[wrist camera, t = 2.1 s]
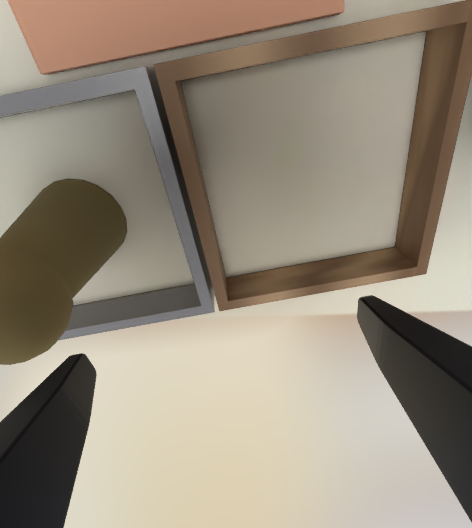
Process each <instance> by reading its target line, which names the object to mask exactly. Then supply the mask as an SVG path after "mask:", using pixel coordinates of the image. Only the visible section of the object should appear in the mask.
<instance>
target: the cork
mask: <svg viewBox="0 0 472 528" xmlns="http://www.w3.org/2000/svg"><path fill="white" fill-rule="evenodd" d="M126 233H127V224H126V218H125V215H124V213H123V211H122V208H121V206H120V205H119V204H118V203H117V201H116V200H115V199H114V198H113V197H112V195H110V194H109V193H108V192H106V191H105V190H103V189H102V188H101V187H99V186H97V185H95V184H92V183H89V182H87V181H84V180H76V179H65V180H60V181H56V182H53V183H52V184H50V185H49V186H47V187H46V188H44V189H43V190H42V191H41V192H40V194H39V195H38V196H37V197H36V198H35V199H34V200H33V201H32V203H31V204H30V205H29V206H28V207H27V208H26V209H25V211H24V212H23V213H22V214H21V215H20V216H19V217H18V218H17V220H16V221H15V222H14V223H13V224H12V225H11V226H10V228H9V229H8V230H7V231H6V232H5V233H4V234H3V235H2V237H1V238H0V364H6V365H7V364H9V365H11V364H16V363H21V362H25V361H28V360H30V359H32V358H34V357H36V356H38V355H40V354H42V353H44V352H46V351H48V350H49V349H50V348H51V347H52V346H53V345H54V344H55V343H56V342H57V341H58V339H59V338H60V337H61V336H62V335H63V334H64V332H65V330H66V328H67V326H68V325H69V321H70V317H71V312H72V307H73V300H72V298H73V297H74V296H75V295H76V294H77V293H78V292H79V291H80V290H81V289H82V287H83V286H84V285H85V284H86V283H87V282H88V281H89V280H90V279H91V278H92V277H93V275H94V274H95V273H96V272H97V271H98V270H99V269H100V268H101V267H102V266H103V265H104V264H105V262H106V261H107V260H108V259H109V258H110V257H111V256H112V255H113V254H114V253H115V252H116V250H117V249H118V248H119V247H120V246H121V244H122V243H123V242H124V239H125V236H126Z"/></svg>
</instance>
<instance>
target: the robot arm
mask: <svg viewBox="0 0 472 528" xmlns="http://www.w3.org/2000/svg"><path fill="white" fill-rule="evenodd" d="M357 319H358V323H359V325H360V327H361V329H362V332H363V334H364V336H365V338H366V340H367V343H368V345H369V347H370V349H371V351H372V353H373V356H374V358H375V360H376V362H377V364H378V366H379V368H380V370H381V371H382V373H383V375H384V377H385V378H386V380H387V382H388V383H389V385H390V387H391V388H392V390H393V392H394V393H395V395H396V396H397V398H398V400H399V402H400V403H401V405H402V407H403V408H404V410H405V412H406V413H407V415H408V417H409V418H410V420H411V421H412V423H413V425H414V426H415V428H416V430H417V432H418V433H419V435H420V437H421V438H422V440H423V442H424V443H425V445H426V447H427V448H428V450H429V452H430V453H431V455H432V457H433V458H434V460H435V462H436V464H437V465H438V467H439V468H440V470H441V472H442V474H443V475H444V477H445V479H446V480H447V482H448V484H449V485H450V487H451V489H452V490H453V492H454V494H455V495H456V497H457V498H458V500H459V502H460V504H461V505H462V507H463V509H464V510H465V512H466V513H467V515H468V517H469V519H470V520H471V522H472V347H471V346H470V345H468V344H466V343H464V342H462V341H460V340H458V339H456V338H454V337H452V336H450V335H448V334H446V333H445V332H443V331H440V330H438V329H437V328H435V327H433V326H431V325H429V324H427V323H425V322H423V321H421V320H419V319H417V318H416V317H413V316H412V315H410V314H408V313H406V312H404V311H402V310H400V309H398V308H396V307H394V306H392V305H390V304H388V303H387V302H385V301H383V300H381V299H379V298H377V297H375V296H372V295H370V296H365V297H361V298H359V300H358V312H357ZM95 382H96V370H95V368H94V366H93V365H92V364H91V362H90V361H89V359H88V358H87V356H86V355H85V354H82V353H81V354H76V355H72V356H69V357H68V358H67V359H66V360H65V361H64V362H63V363H62V364H61V365H60V366H59V367H58V368H57V369H56V370H54V371H53V372H52V373H51V374H50V375H49V376H48V377H47V378H46V379H45V380H44V381H43V382H42V383H41V384H40V385H39V386H38V387H37V388H36V389H35V390H34V391H32V392H31V393H30V394H29V395H28V396H27V397H26V398H25V399H24V400H23V401H22V402H21V403H20V404H19V405H18V406H17V407H16V408H15V409H14V410H13V411H11V412H10V413H9V415H7V416H6V417H5V418H4V419H3V420H2V421H1V422H0V528H63V527H64V523H65V519H66V515H67V511H68V507H69V503H70V499H71V495H72V491H73V487H74V483H75V479H76V475H77V471H78V467H79V463H80V459H81V455H82V451H83V447H84V443H85V439H86V435H87V431H88V427H89V422H90V416H91V410H92V403H93V396H94V389H95Z"/></svg>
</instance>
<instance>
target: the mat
mask: <svg viewBox="0 0 472 528" xmlns="http://www.w3.org/2000/svg"><path fill="white" fill-rule="evenodd" d="M8 2H9V4H10V7H11V9H12V11H13V13H14V15H15V18H16V20H17V22H18V24H19V27H20V29H21V31H22V33H23V36H24V38H25V40H26V42H27V44H28V47H29V49H30V51H31V53H32V56H33V58H34V60H35V62H36V65H37V67H38V69H39V71H40V73H41V74H52V73H57V72H62V71H67V70H72V69H77V68H81V67H86V66H91V65H96V64H101V63H106V62H111V61H115V60H120V59H125V58H130V57H135V56H140V55H144V54H149V53H154V52H159V51H164V50H169V49H174V48H178V47H183V46H188V45H193V44H198V43H203V42H207V41H212V40H217V39H222V38H227V37H232V36H236V35H241V34H246V33H251V32H256V31H261V30H266V29H270V28H275V27H280V26H285V25H290V24H295V23H299V22H304V21H309V20H314V19H319V18H324V17H329V16H333V15H338V14H340V13H342V12H344V0H8Z"/></svg>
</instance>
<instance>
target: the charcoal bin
mask: <svg viewBox="0 0 472 528" xmlns="http://www.w3.org/2000/svg"><path fill="white" fill-rule="evenodd" d="M133 90H135V92H136V95H137V99H138V102H139V105H140V108H141V112H142V115H143V118H144V121H145V124H146V128H147V131H148V134H149V137H150V141H151V144H152V147H153V150H154V154H155V157H156V160H157V163H158V167H159V170H160V173H161V176H162V180H163V183H164V186H165V189H166V193H167V196H168V199H169V202H170V205H171V209H172V212H173V215H174V218H175V222H176V225H177V228H178V231H179V235H180V238H181V241H182V244H183V248H184V251H185V254H186V257H187V261H188V264H189V267H190V270H191V274H192V277H193V280H194V283H195V284H191V285H186V286H180V287H175V288H169V289H164V290H158V291H153V292H147V293H142V294H136V295H131V296H126V297H120V298H115V299H109V300H104V301H98V302H93V303H87V304H82V305H76V306H73V307H72V312H71V317H70V321H69V325H68V326H67V328H66V330H65V332H64V334H63V335H62V336H61V337H60V338H59V339H58V340H62V339H68V338H74V337H79V336H84V335H90V334H96V333H101V332H107V331H112V330H118V329H124V328H129V327H134V326H140V325H146V324H151V323H157V322H162V321H168V320H173V319H179V318H185V317H190V316H196V315H201V314H207V313H212V312H214V289H213V285H212V281H211V277H210V274H209V270H208V266H207V262H206V259H205V255H204V251H203V247H202V244H201V240H200V236H199V233H198V229H197V225H196V221H195V218H194V214H193V210H192V206H191V203H190V199H189V195H188V191H187V188H186V184H185V180H184V176H183V173H182V169H181V165H180V162H179V158H178V154H177V150H176V147H175V143H174V139H173V135H172V132H171V128H170V124H169V120H168V117H167V113H166V109H165V105H164V102H163V98H162V94H161V91H160V87H159V83H158V79H157V76H156V72H155V68H151V67H147V66H144V67H139V68H134V69H129V70H124V71H119V72H115V73H110V74H105V75H100V76H95V77H90V78H85V79H80V80H76V81H71V82H66V83H61V84H56V85H51V86H46V87H41V88H37V89H32V90H27V91H22V92H17V93H12V94H7V95H3V96H0V117H5V116H10V115H15V114H20V113H25V112H30V111H35V110H40V109H45V108H50V107H55V106H59V105H64V104H69V103H74V102H79V101H84V100H89V99H94V98H99V97H104V96H109V95H114V94H119V93H123V92H128V91H133Z"/></svg>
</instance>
